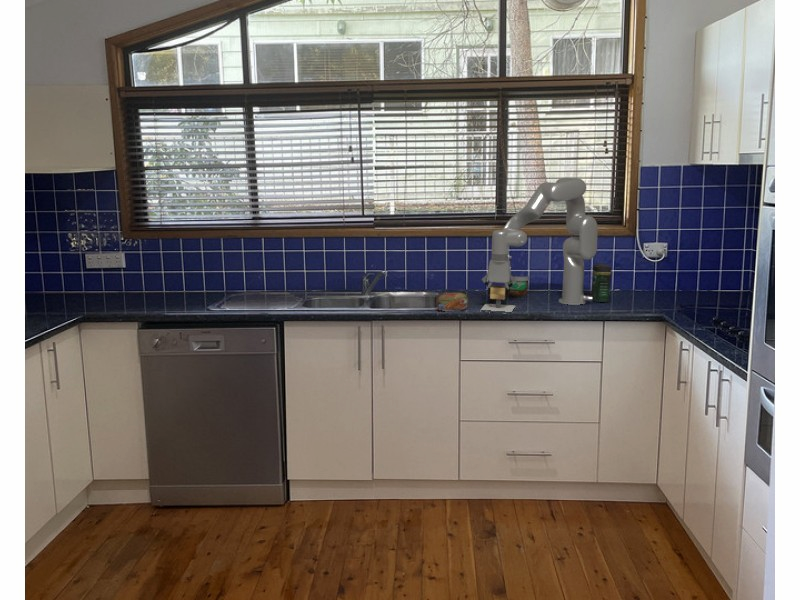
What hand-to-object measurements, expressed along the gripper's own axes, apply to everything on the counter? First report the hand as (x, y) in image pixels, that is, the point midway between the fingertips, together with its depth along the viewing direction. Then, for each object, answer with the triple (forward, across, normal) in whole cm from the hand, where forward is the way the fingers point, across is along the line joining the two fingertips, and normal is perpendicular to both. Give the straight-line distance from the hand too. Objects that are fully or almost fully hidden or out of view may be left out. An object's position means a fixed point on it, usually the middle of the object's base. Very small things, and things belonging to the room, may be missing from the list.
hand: (498, 296), depth 316 cm
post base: (+6, 0, 0) cm, 6 cm away
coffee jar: (+6, -45, -34) cm, 57 cm away
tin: (+7, +20, +8) cm, 22 cm away
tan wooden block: (+1, 0, 0) cm, 1 cm away
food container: (+6, -4, -37) cm, 38 cm away
